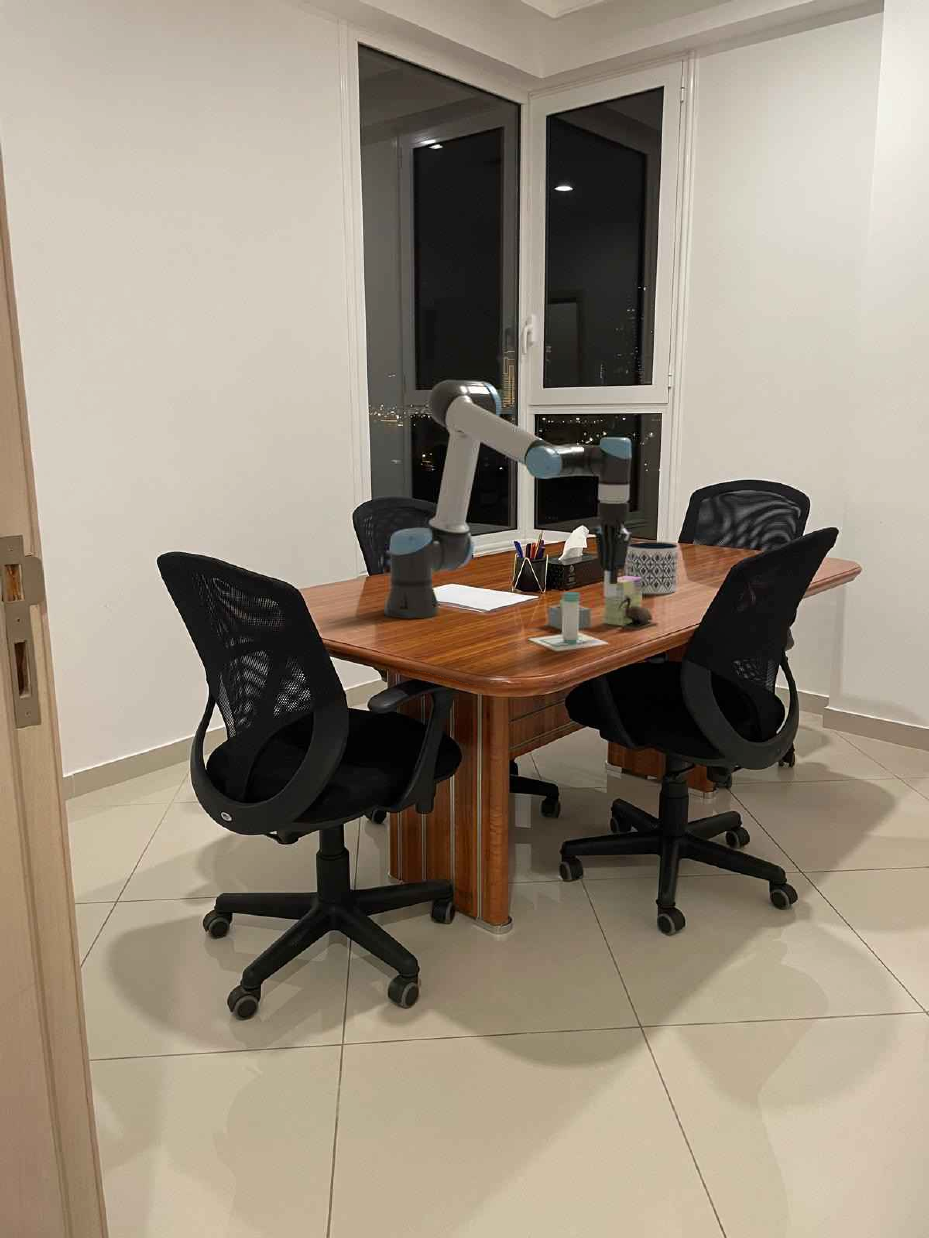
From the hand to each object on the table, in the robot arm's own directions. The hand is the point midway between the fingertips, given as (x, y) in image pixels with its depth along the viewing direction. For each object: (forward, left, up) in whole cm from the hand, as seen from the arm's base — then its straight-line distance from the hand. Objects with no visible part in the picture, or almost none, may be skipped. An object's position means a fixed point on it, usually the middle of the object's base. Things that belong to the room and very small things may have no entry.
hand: (609, 596), depth 239 cm
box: (+13, +12, -10) cm, 20 cm away
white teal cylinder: (-13, -3, -10) cm, 17 cm away
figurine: (+11, +4, -11) cm, 16 cm away
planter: (+49, +46, -10) cm, 68 cm away
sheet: (-13, -1, -10) cm, 17 cm away
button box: (-3, +14, -10) cm, 17 cm away
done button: (-3, +14, -9) cm, 17 cm away
